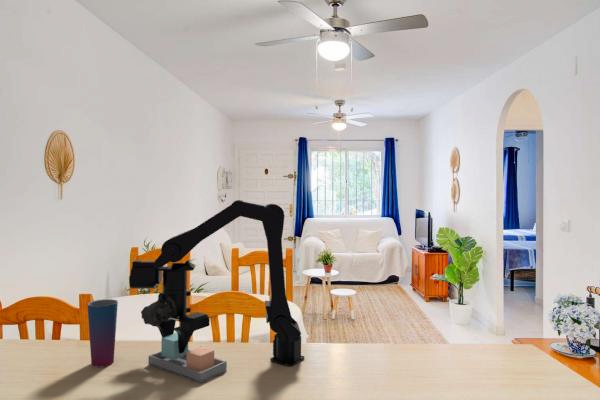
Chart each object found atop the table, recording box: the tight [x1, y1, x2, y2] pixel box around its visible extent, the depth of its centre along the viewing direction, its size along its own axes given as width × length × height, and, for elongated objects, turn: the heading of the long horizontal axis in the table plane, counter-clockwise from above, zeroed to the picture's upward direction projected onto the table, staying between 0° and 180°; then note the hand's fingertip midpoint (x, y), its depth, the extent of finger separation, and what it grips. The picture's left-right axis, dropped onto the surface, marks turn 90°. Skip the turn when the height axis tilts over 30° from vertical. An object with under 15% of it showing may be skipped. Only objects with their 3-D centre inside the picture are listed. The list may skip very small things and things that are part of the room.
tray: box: [148, 349, 228, 384], centre depth 106 cm, size 18×8×2 cm, turn 56°
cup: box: [87, 298, 119, 368], centre depth 108 cm, size 7×7×15 cm
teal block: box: [161, 332, 189, 360], centre depth 109 cm, size 4×4×4 cm
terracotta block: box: [187, 346, 215, 372], centre depth 104 cm, size 4×4×4 cm
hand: (174, 351), depth 109 cm, fingers closed on teal block, 4 cm apart
